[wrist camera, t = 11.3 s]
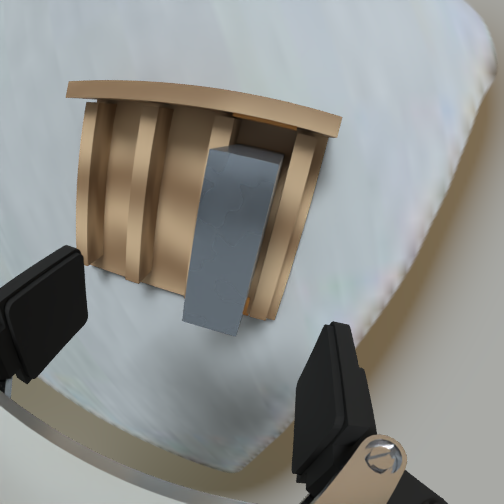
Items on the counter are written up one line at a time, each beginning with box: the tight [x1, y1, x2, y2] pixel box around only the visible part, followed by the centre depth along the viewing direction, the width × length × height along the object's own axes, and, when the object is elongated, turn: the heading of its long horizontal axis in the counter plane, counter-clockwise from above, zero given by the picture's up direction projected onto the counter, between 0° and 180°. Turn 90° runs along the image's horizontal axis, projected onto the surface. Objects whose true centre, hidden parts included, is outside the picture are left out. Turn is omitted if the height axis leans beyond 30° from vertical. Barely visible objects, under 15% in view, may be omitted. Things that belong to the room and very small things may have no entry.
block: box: [182, 144, 285, 336], centre depth 17 cm, size 9×3×8 cm, turn 167°
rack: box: [66, 80, 342, 320], centre depth 20 cm, size 16×18×5 cm
